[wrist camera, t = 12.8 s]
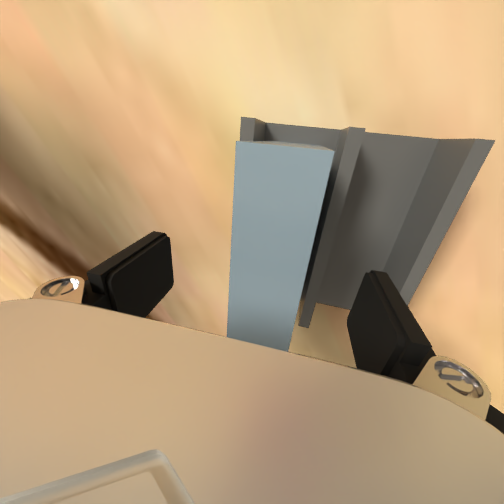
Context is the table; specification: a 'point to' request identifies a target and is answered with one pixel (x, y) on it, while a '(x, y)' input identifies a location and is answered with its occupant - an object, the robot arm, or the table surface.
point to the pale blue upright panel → (273, 236)
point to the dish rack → (378, 205)
